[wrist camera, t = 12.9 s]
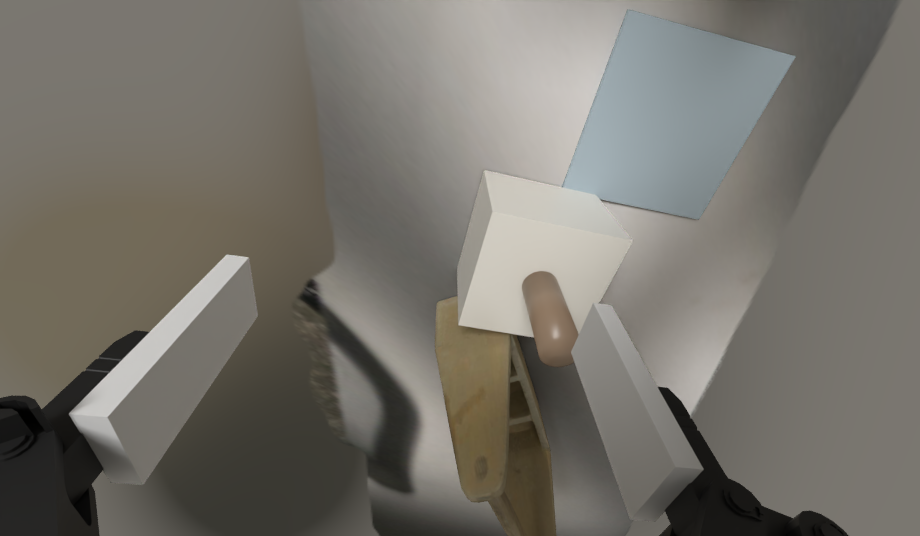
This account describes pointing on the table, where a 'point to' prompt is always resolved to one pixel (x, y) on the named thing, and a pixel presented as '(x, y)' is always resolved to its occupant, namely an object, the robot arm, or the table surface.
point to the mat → (671, 115)
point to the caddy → (495, 424)
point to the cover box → (537, 262)
